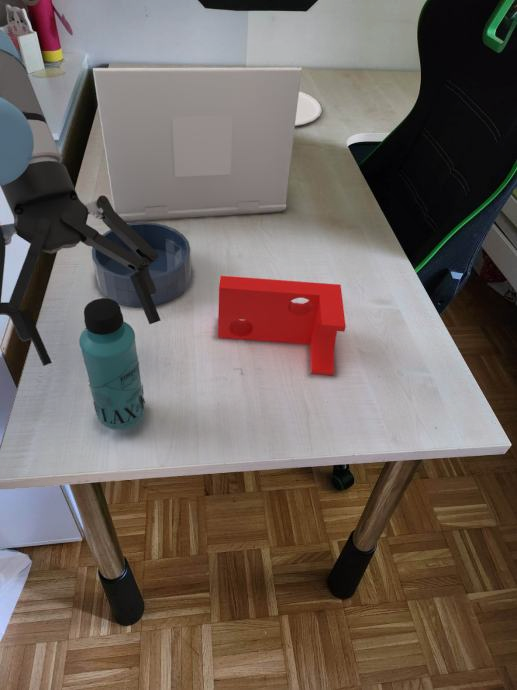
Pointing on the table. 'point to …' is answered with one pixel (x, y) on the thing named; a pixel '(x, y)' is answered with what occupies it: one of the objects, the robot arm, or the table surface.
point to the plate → (307, 109)
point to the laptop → (197, 139)
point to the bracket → (283, 315)
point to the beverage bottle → (112, 365)
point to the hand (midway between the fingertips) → (104, 342)
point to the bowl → (165, 271)
